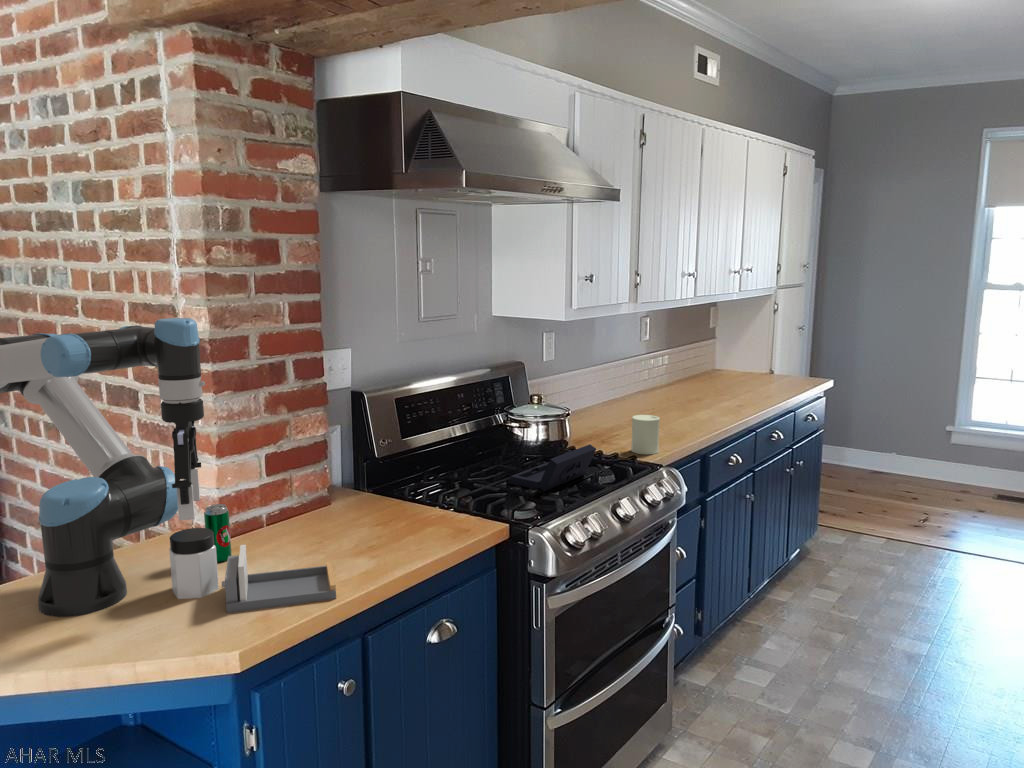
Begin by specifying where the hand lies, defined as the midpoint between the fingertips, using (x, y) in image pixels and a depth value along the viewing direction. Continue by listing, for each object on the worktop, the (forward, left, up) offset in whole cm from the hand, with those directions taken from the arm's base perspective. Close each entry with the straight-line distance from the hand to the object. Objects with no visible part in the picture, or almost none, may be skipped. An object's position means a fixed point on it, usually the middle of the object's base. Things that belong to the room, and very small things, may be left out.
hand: (189, 509), depth 155 cm
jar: (0, 0, -17) cm, 17 cm away
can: (+135, +74, -17) cm, 154 cm away
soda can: (+4, +16, -17) cm, 24 cm away
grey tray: (+17, -7, -17) cm, 25 cm away
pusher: (+9, -7, -17) cm, 20 cm away
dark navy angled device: (+94, +51, -17) cm, 108 cm away
